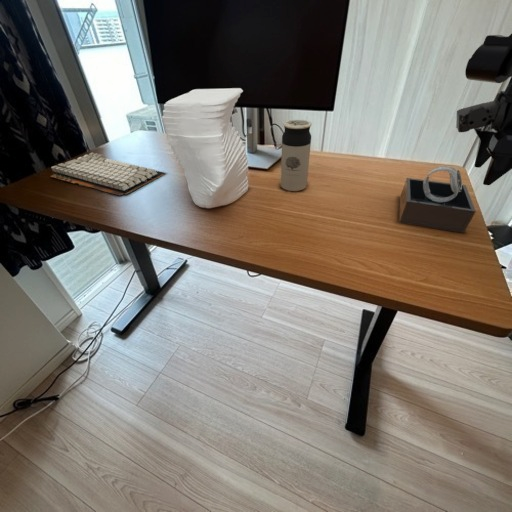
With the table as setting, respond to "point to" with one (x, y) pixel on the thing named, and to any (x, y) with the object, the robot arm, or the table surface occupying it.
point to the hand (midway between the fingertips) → (481, 175)
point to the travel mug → (295, 154)
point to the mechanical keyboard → (105, 174)
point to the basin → (435, 206)
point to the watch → (454, 182)
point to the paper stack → (208, 145)
